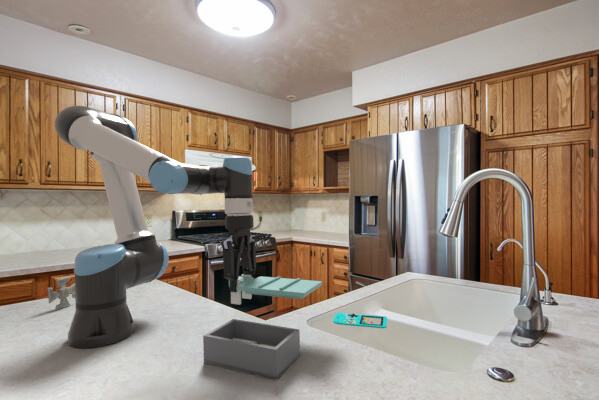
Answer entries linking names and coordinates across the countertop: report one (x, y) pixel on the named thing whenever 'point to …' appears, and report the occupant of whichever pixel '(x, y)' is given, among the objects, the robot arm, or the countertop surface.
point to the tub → (252, 348)
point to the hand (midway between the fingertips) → (241, 300)
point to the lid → (278, 286)
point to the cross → (62, 293)
